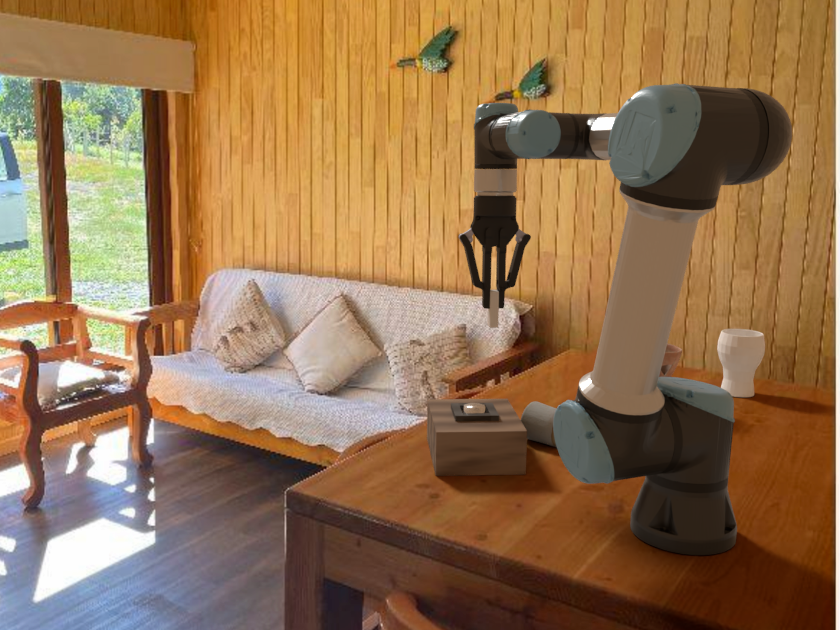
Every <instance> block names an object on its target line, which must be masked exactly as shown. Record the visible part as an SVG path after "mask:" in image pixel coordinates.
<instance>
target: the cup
mask: <svg viewBox="0 0 840 630" xmlns="http://www.w3.org/2000/svg"><path fill="white" fill-rule="evenodd" d="M716 348H717V354H718V359H719V361H720V363H721V366H722V373H723V376H722V377H723V378H722V381H721V384H720V385H721V386H720V388H722V389H724V390H726V391H728V392H729V393H730V394H731V396H732V397H733V398H734V397H735V398H751V397H754V396H755V384H754V378H755V373H756V370H757V369H758V367H759V365H760V364H761V363H762V360H763V359H764V356H765V353H766V340H765V335H764V333H763V332H760V331H758V330H753V329H745V328H725V329H722V330H721V331H720V333H719V336H718V340H717V347H716Z"/></svg>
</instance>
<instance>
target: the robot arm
mask: <svg viewBox="0 0 840 630" xmlns="http://www.w3.org/2000/svg"><path fill="white" fill-rule="evenodd" d="M792 127H793V126H792V122H791V118H790V116H789V114H788V112H787V111H786V108H785V107H784V106H783V104H781V102H779V101H778V100H777V99H776V98H775V97H773V96H771V95H770V94H769V93H766V92H763V91H761V90H757V89H752V88H748V87H747V88H746V87H745V88H742V87H737V88H736V87H724V86H723V87H721V86H707V85H697V84H695V85H694V84H685V83H677V82H676V83H675V82H674V83H671V84H654V85H649V86H646V87H643V88H641V89H640V90H637V91H636V92H635V93H634V94H633V95H632V97H630V98H628V99H627V100H626V101H625V102H624V103H623V105H622V106H621V107H620V109H619V111H618V112H612V113H606V112H605V113H570V112H550V111H549V112H548V111H547V110H543V109H531V108H529V109H525V110H523V111H519V108H518V106H517V105H516V104H514V103H511V102H510V103H509V102H488V103H487V102H486V103H481V104H479V105H478V106H477V107H476V108H475V118H474V124H473V130H474V132H473V133H474V134H473V135H474V137H473V138H474V140H473V141H474V142H473V143H474V144H473V148H474V158H473V161H474V163H473V164H474V171H473V172H474V174H473V175H474V176H473V191H474V192H475V193H476V195H475V196H474V197H473V219H472V222H471V224H470V228H469V229H468V230H466V231H464V232H463V233H459V234H458V237H457V238H458V240H459V241H460V244H462V246H463V249H464V253H465V257H466V261H467V266H468V271H469V275H470V279H471V283H472V285H473V287H475V288H477V289H480V290H481V291H482V292H481V295H482V297H481V299H482V300H481V301H482V303H481V305H482V308H483V309H485V310H486V309H487V326H488V328H489V329H492V328H494V329H495V328H496V329H497V328H498V329H499V314H500V313H499V312H500V311H499V309H504V307H505V295H506V294H505V292H506V290H507V289H511V288H515V286H516V283H517V280H518V275H519V271H520V268H521V263H522V259H523V256H524V253H525V250H526V249H525V248H526V247H527V246H528V243H529V242H530V240H531V238H532V236H531V234H528V233H526V232H524V231H523V230H521V229H520V227H519V223H518V221H517V201H518V200H517V197H516V195H514V193H517V191H518V190H517V189H518V178H517V177H518V160H521V159H522V160H537V159H538V160H588V161H589V160H590V161H591V160H593V161H609V166H610V169H611V172H612V174H613V176H614V177H615V178H616V180H617V181H619V182H620V184H619V189H618V191H619V194H620V195H621V197H622V198H623V199H624V201H625V203H626V204H627V211H626V216H625V221H624V225H623V231H622V235H621V239H620V244H619V248H618V249H619V250H618V253H617V258H616V262H615V267H614V272H613V276H612V282H611V286H610V291H609V295H608V300H607V305H606V310H605V313H604V319H603V324H602V328H601V332H600V337H599V343H598V347H597V350H596V356H595V360H594V365H593V370H592V371H590V372H587V373H586V374H584V375H583V376H581V378H579V382H578V385H577V390H576V395H575V398H574V399H567V400H566V401H563V402H561V404H559V405H558V406H557V409H556V411H555V414H554V420H553V431H554V438H555V443H556V446H557V447H556V449H557V451H558V454H559V457H560V459H561V462H562V464H563V465H564V467H565V468H566V469H567V471H568V472H569V474H571V476H572V477H573V478H575V479H576V480H578V481H579V482H581V483H584V484H586V485H587V484H590V485H591V484H593V485H595V484H603V483H604V484H610V483H613V482H615V481H617V482H618V481H621V480H629V479H634V478H642V477H645V478H644V480H643V483H642V485H641V487H640V489H639V492H638V495H637V497H636V499H635V501H634V503H633V506H632V509H631V511H630V525H629V526H630V530H631V532H632V534H633V535H634V536H636V537H637V538H638V539H639V540H641V541H642V542H645V543H646V544H647V545H651V546H652V547H655V548H658V549H660V550H664V551H665V552H670V553H675V554H682V555H689V556H708V555H709V556H710V555H715V554H721V553H724V552H727V551H729V550H731V549H732V548H733V547H735V545H736V542H737V533H738V524H737V521H736V516H735V513H734V509H733V506H732V501H731V498H730V497H731V496H730V494H729V487H728V486H729V477H730V476H729V474H730V466H731V465H730V464H731V454H732V444H733V443H732V442H733V433H734V424H735V421H736V420H735V417H734V414H735V413H734V411H735V409H734V407H735V401H734V397H733V396H731V394H730V393H729V392H728V391H726V390H724V389H722V388H721V386H717V385H715V384H711V383H708V382H703V381H700V380H695V379H691V378H689V379H688V378H683V377H677V376H676V377H675V376H671V377H659V374H660V370H661V366H662V363H663V359H664V355H665V351H666V347H667V343H668V341H669V338H670V335H671V334H670V333H671V332H672V331H671V330H672V327H673V323H674V319H675V314H676V311H677V306H678V303H679V298H680V295H681V291H682V287H683V283H684V279H685V275H686V272H687V266H688V263H689V259H690V255H691V251H692V247H693V243H694V239H695V236H696V231H697V228H698V224H699V220H700V219H701V218H702V217H704V216H705V215H707V214H709V213H711V212H712V211H714V210H715V208H716V206H717V203H718V198H719V196H720V191H721V187H722V186H737V185H748V184H752V183H755V182H758V181H760V180H762V179H764V178H766V177H768V176H769V175H770V174H772V173H773V172H775V171H776V170H777V169H778V168H779V167H780V165H781V164H782V163H783V162H784V160H785V159H786V157H787V155H788V153H789V150H790V148H791V145H792V139H793V128H792ZM473 236H475V238H476V239H477V241H478V242H479V244H480V245H481V249H482V250H481V251H482V258H481V259H482V265H481V272H482V273H481V279H480V274H479V270H478V269H479V268H478V266H477V260H476V256H475V251H474V247H473V245H472V242H473V241H474V238H473ZM514 236H515V241H516V244H515V247H514V250H513V253H512V258H511V262H510V265H509V269H508V271H506V267H507V266H506V264H507V263H506V262H507V259H506V258H507V246H508V245H509V243H511V241H512V240H513V238H514ZM493 248H495V250H496V264H495V265H496V267H495V269H496V271H495V272H496V273H495V275H496V277H495V278H496V279H495V281H496V282H495V287H496V289H491V288H492V256H493V255H492V253H493ZM506 272H508V273H507V277H506ZM668 344H669V343H668Z"/></svg>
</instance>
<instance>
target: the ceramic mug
mask: <svg viewBox="0 0 840 630" xmlns="http://www.w3.org/2000/svg"><path fill="white" fill-rule="evenodd" d="M556 409H557V408H556V407H554V406H551V405H547V404H545V403H542V402H539V401H531V402H529V404H527V405H526V407H525V408H524V409H523V412H522V414H521V417H520V420H521V422H522V423H523V425H524V427H525V428H526V430H527V440H528V441H529V440H530V441H532V442H537V443H540V444H544V445H547V446H551V447H555V448H557V446H556V443H555V438H554V431H553V420H554V414H555V411H556Z"/></svg>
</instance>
